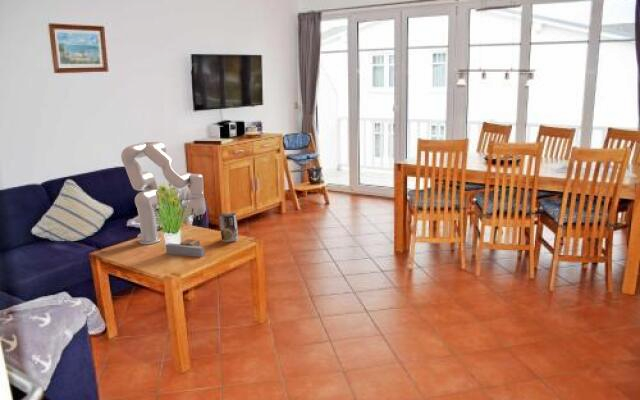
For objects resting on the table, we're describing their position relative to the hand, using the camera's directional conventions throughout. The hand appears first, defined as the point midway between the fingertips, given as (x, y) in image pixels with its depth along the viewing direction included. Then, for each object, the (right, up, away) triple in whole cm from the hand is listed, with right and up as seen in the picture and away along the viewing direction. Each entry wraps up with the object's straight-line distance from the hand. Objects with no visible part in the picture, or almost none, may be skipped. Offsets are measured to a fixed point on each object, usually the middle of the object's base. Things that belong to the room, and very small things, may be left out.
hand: (199, 225), depth 319 cm
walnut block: (-3, -15, -8) cm, 17 cm away
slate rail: (-5, -16, -13) cm, 21 cm away
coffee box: (+17, -10, +8) cm, 21 cm away
